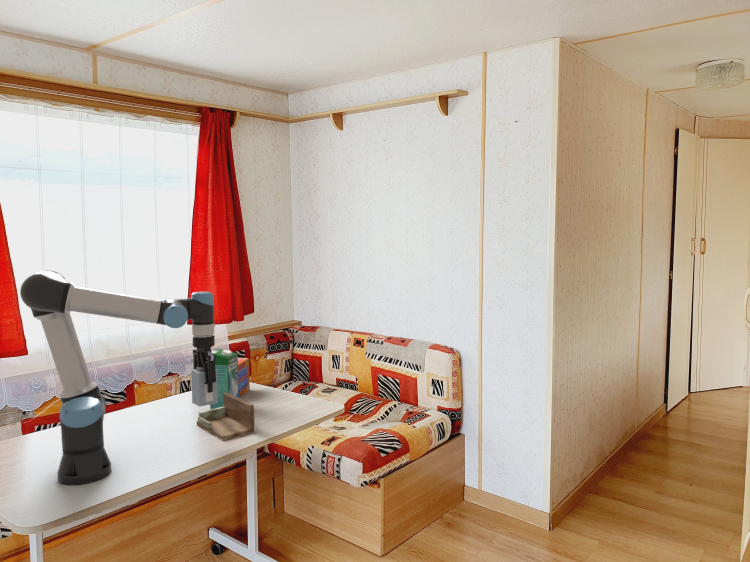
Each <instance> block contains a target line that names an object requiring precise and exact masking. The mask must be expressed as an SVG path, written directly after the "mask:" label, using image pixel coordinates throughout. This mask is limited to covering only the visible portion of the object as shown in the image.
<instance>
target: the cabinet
mask: <svg viewBox="0 0 750 562" xmlns="http://www.w3.org/2000/svg"><path fill="white" fill-rule="evenodd" d="M204 383H206V379H205V372H204V368H203V367H196V369H194V370H193V369H191V397H192V398H191V399H192V401H191V402H192V404H194V405H195V406H197V407H204V406H205V407H206V406H210V404H215V403H218V376H217V370H216V382H214V383H213V401H208V402H205V384H204Z"/></svg>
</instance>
